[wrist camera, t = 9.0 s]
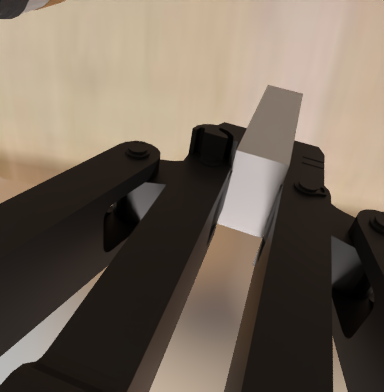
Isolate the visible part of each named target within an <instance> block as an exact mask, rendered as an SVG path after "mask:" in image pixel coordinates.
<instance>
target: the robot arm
mask: <svg viewBox="0 0 384 392" xmlns="http://www.w3.org/2000/svg"><path fill="white" fill-rule="evenodd" d="M302 96H303V94H302V93H298V92H294V91H290V90H286V89H282V88H278V87H274V86H270V85H268V86H267V88H266V90H265V92H264V94H263V97H262V99H261V101H260V103H259V105H258V107H257V109H256V111H255V113H254V115H253V117H252V119H251V121H250V123H249V125H248V127H247V128H243V127H240V126H236V125H233V124H229V123H225V122H224V123H222V124H219V125H213V124H203V125H198V126H196V127H194V128H193V131H192V137H191V143H190V148H189V154H188V155H187V157H186V158H185V160H184V161H168V160H160V151H159V150H158V148H156V147H154V146H153V145H151V144H148V143H145V142H142V141H140V142H139V141H130V142H124V143H121V144H119V145H117V146H115V147H113V148H111V149H109V150H107V151H105V152H103V153H101V154H99V155H97V156H95V157H93V158H91V159H89V160H87V161H85V162H83V163H81V164H79V165H77V166H75V167H73V168H71V169H69V170H67V171H65V172H63V173H61V174H59V175H57V176H55V177H53V178H51V179H49V180H47V181H45V182H43V183H41V184H39V185H37V186H35V187H33V188H31V189H29V190H27V191H25V192H23V193H21V194H19V195H17V196H15V197H12V198H11V199H8V200H6V201H5V202H3V203H1V204H0V356H1V355H3V354H4V353H5V352H6V351H8V350H9V349H10V348H11V347H12V346H14V345H15V344H16V343H17V342H18V341H19V340H20V339H22V338H23V337H24V336H25V335H26V334H28V333H29V332H30V331H31V330H32V329H34V328H35V327H36V326H37V325H38V324H39V323H41V322H42V321H43V320H44V319H45V318H46V317H48V316H49V315H50V314H51V313H52V312H54V311H55V310H56V309H57V308H58V307H60V306H61V305H62V304H63V303H64V302H65V301H67V300H68V299H69V298H70V297H71V296H72V295H74V294H75V293H76V292H77V291H78V290H80V289H81V288H82V287H83V286H84V285H86V284H87V283H88V282H89V281H90V280H91V279H93V278H94V277H95V276H96V275H97V274H98V273H100V272H101V271H102V270H103V269H104V268H106V267H107V266H108V267H107V268H106V270H105V271H104V272H103V274H102V275H101V276H100V278H99V280H98V281H97V282H96V283H95V285H94V286H93V288H92V289H91V290H90V292H89V293H88V295H87V296H86V297H85V299H84V300H83V302H82V303H81V304H80V306H79V307H78V309H77V310H76V311H75V313H74V314H73V316H72V317H71V318H70V320H69V321H68V322H67V324H66V325H65V327H64V328H63V329H62V331H61V332H60V333H59V335H58V336H57V338H56V339H55V340H54V342H53V343H52V345H51V346H50V347H49V349H48V350H47V351H46V353H45V354H44V355H43V356H42V357H41V358H40V359H39V360H37V361H36V362H30V363H25V364H22V365H21V366H20V367H18V368H17V369H16V370H14V371H13V372H12V373H11V374H10V375H9V376H8V377H7V378H6V380H5V381H4V382H3V383H2V384H1V385H0V392H149V390H150V388H151V385H152V383H153V381H154V378H155V376H156V373H157V371H158V368H159V366H160V363H161V361H162V359H163V356H164V354H165V352H166V349H167V347H168V344H169V342H170V339H171V337H172V334H173V332H174V330H175V327H176V324H177V322H178V320H179V317H180V315H181V313H182V310H183V308H184V305H185V303H186V301H187V298H188V296H189V293H190V291H191V288H192V286H193V284H194V281H195V279H196V276H197V274H198V271H199V269H200V267H201V264H202V262H203V259H204V257H205V255H206V252H207V250H208V247H209V245H210V242H211V240H212V238H213V235H214V232H215V229H216V225H217V221H218V224H221V225H224V226H227V227H230V228H233V229H236V230H239V231H242V232H245V233H248V234H251V235H254V236H257V237H260V238H263V239H262V242H261V244H260V247H259V250H258V252H257V255H256V258H255V260H254V263H253V265H254V266H255V267H254V271H253V275H252V279H251V283H250V287H249V291H248V296H247V300H246V304H245V308H244V312H243V316H242V321H241V324H240V328H239V333H238V337H237V341H236V345H235V349H234V353H233V357H232V361H231V366H230V369H229V374H228V378H227V382H226V386H225V390H224V392H333V351H332V350H333V348H332V347H333V345H332V344H333V343H332V335H333V339H334V342H335V346H336V350H337V353H338V357H339V361H340V365H341V368H342V371H343V376H344V379H345V383H346V387H347V390H348V392H384V212H380V211H376V210H363V211H360V212H359V213H358V215H357V217H356V218H355V217H353V216H351V215H349V214H347V213H345V212H343V211H341V210H339V209H338V208H336V207H335V206H334V205H332V204H331V195H330V192H329V190H328V189H327V188H326V187H325V186H324V154H323V153H322V151H321V150H320V148H319V147H316V146H312V145H309V144H305V143H301V142H298V141H294V139H295V133H296V128H297V122H298V117H299V112H300V106H301V101H302ZM112 204H113V205H112ZM111 205H112V206H111ZM110 206H111V207H110ZM218 219H219V220H218ZM263 235H264V236H263Z"/></svg>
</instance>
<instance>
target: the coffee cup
mask: <svg viewBox="0 0 384 392" xmlns="http://www.w3.org/2000/svg"><path fill="white" fill-rule="evenodd" d="M63 1H65V0H0V19H12V18H15V17H17V16H19V15H20V14H22V13H25V12H28V11H32V10H38V9H41V8H45V7H48V6H51V5H55V4H58V3H61V2H63Z"/></svg>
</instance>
